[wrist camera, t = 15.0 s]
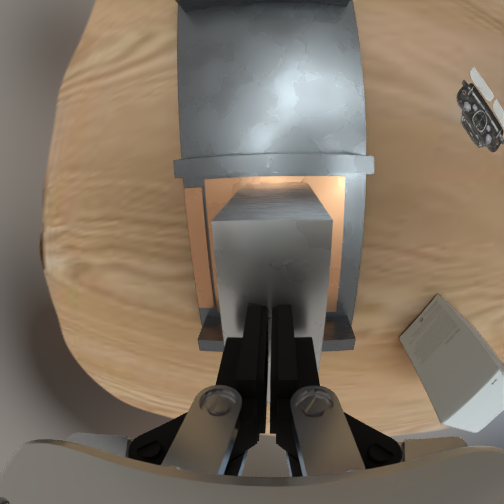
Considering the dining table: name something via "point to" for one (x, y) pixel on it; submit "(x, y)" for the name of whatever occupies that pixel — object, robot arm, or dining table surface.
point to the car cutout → (480, 113)
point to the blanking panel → (273, 258)
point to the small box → (455, 367)
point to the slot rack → (273, 130)
